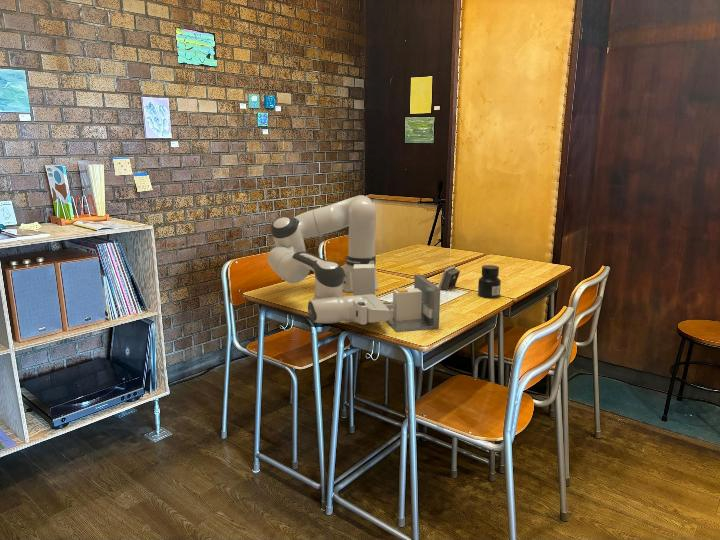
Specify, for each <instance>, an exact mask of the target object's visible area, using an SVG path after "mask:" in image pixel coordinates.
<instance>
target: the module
mask: <svg viewBox="0 0 720 540" xmlns="http://www.w3.org/2000/svg"><path fill="white" fill-rule="evenodd" d="M392 291H393V292H392V302H394V303H395V304H396V309H392V310H393V318H394V319H395V320H396V321H403V320H415V319H421V306H422V291H421V290H419V289H418V288H414V287H413V288H405V287H398V288H397V287H396V289H393V290H392Z"/></svg>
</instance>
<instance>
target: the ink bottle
mask: <svg viewBox="0 0 720 540" xmlns="http://www.w3.org/2000/svg"><path fill="white" fill-rule="evenodd" d="M499 273H500V266H498V265H493V264H484V265H482V266H481V276H480V277H479V279H478V284H477V285H478V286H477V287H478V288H477V294H478V296H479V297H482V298H490V299H493V298H494V299H495V298H496V299H497V298H499V297H500V296H501V285H502V284H501V283H502V280H501V279H500V278H499Z"/></svg>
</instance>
